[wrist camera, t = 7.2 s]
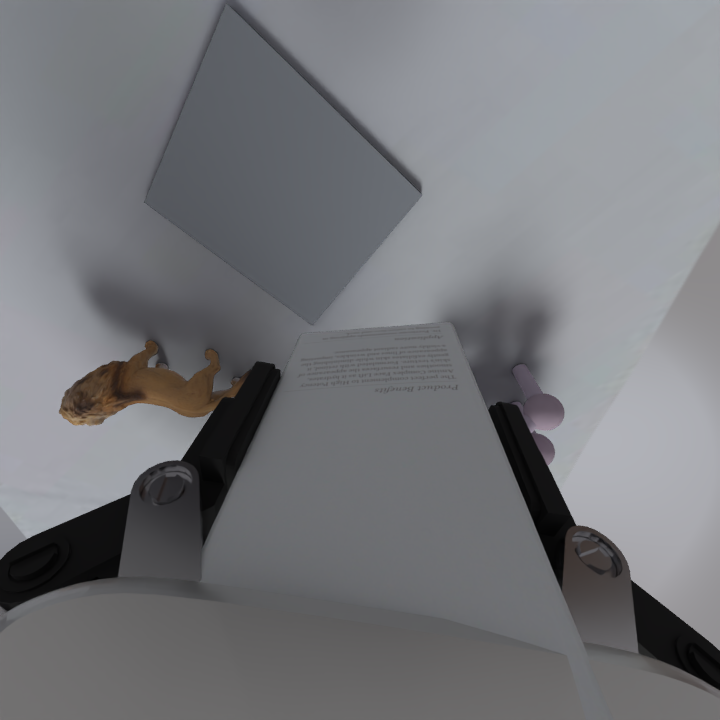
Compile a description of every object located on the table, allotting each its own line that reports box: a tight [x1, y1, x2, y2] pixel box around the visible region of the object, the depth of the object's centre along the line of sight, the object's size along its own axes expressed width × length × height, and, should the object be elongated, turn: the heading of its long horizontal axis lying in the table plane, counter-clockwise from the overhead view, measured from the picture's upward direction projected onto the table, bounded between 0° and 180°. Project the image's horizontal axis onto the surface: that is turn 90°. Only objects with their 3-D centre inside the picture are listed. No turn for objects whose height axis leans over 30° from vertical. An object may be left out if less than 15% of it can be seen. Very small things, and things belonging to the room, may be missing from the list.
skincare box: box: [200, 322, 613, 720], centre depth 9 cm, size 6×4×12 cm
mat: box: [144, 3, 422, 325], centre depth 26 cm, size 16×14×1 cm
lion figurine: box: [59, 340, 251, 426], centre depth 32 cm, size 15×5×9 cm, turn 89°
